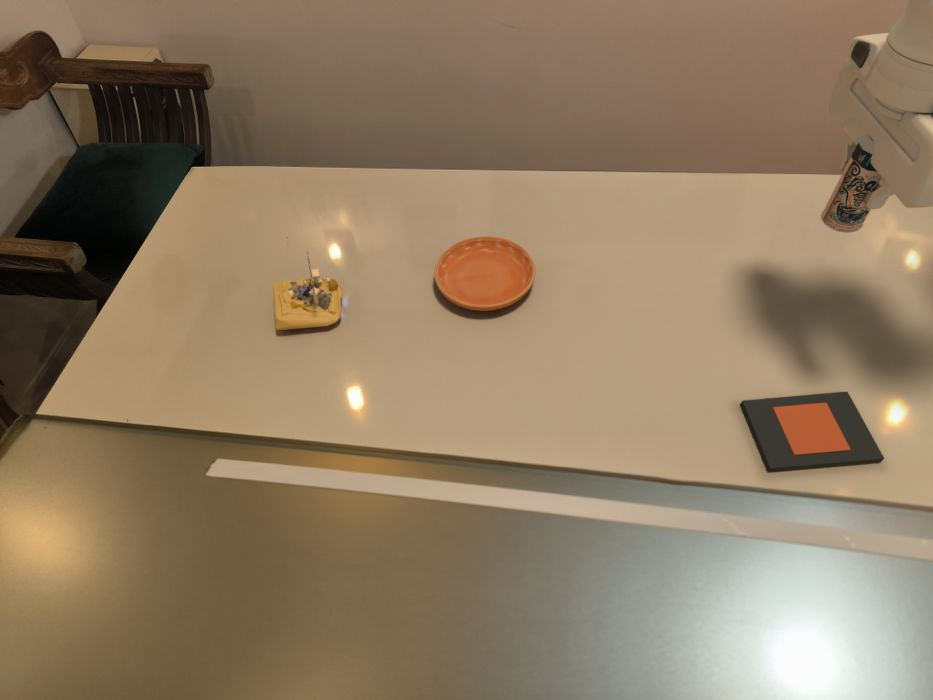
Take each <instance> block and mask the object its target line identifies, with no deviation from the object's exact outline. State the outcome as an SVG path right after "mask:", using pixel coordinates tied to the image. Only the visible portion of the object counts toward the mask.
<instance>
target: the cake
mask: <svg viewBox="0 0 933 700" xmlns="http://www.w3.org/2000/svg"><path fill="white" fill-rule="evenodd" d="M286 239H289V237H288V236H286ZM306 246H308V245H307V243H306ZM306 254H307V262H308V265H307V266H308V270H309V273H310V274H309V275H310V278H304V279H297V280H296V279H295V280H279V281H276V282H274V283H273V284H272V285H273V286H272V288H273V290H272V291H273V308H274V322H275V329H276V330H277V331H282V330H283V331H284V330H296V329H297V330H298V329H307V328H308V329H309V328H321V327H328V326H331V325H333V324H335V323H338V322H339V319H341V316H342V298H343V296H344V295H343V294H344V293H343V288H342V286H341V284H340V282H338V281H337V280H336V279H333V278H331V277H321V276H320V275H321V274H320V269H319V268H312V266H311V260H310V255H309V251H308V248H306Z"/></svg>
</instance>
